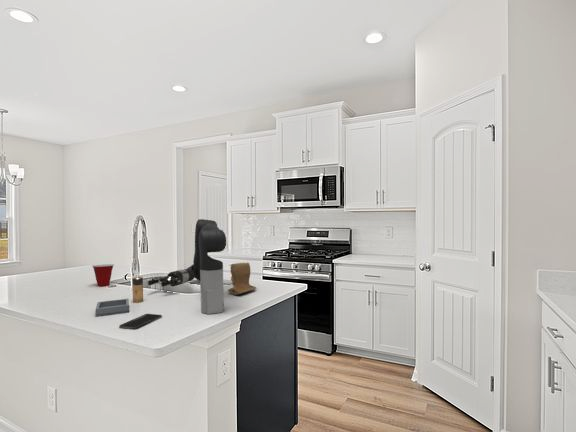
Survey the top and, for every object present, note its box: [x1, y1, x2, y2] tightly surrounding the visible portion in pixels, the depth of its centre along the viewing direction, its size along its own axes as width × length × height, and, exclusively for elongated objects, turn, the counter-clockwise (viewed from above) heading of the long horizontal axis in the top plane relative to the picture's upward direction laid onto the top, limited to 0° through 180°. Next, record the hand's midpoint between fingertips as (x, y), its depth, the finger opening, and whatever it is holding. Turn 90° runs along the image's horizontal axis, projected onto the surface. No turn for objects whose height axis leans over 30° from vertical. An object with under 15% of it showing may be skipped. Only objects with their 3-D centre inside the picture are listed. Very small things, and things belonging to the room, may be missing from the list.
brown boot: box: [227, 262, 257, 296], centre depth 174 cm, size 15×12×15 cm
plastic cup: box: [92, 263, 115, 288], centre depth 195 cm, size 11×11×12 cm
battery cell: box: [131, 275, 144, 304], centre depth 159 cm, size 4×4×12 cm
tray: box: [95, 298, 130, 318], centre depth 145 cm, size 12×12×3 cm
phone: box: [118, 313, 163, 331], centre depth 129 cm, size 8×1×15 cm
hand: (155, 283), depth 169 cm, fingers open, 8 cm apart
